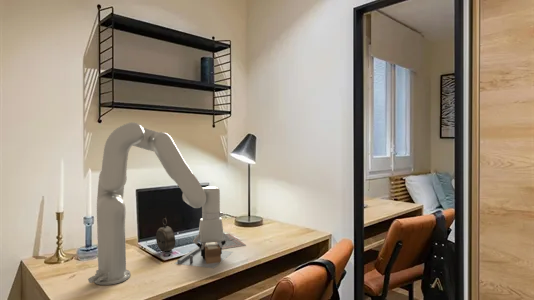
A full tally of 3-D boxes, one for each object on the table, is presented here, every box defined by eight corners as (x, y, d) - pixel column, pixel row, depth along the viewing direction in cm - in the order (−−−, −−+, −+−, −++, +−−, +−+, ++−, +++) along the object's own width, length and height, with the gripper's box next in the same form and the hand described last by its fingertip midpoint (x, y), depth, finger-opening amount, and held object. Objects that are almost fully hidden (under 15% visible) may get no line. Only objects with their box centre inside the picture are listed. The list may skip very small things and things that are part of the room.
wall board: (214, 271, 133) (213, 260, 133) (174, 266, 138) (174, 256, 138) (233, 254, 152) (233, 245, 152) (197, 250, 158) (197, 241, 157)
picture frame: (199, 242, 173) (212, 254, 154) (199, 237, 173) (212, 249, 154) (229, 237, 181) (245, 249, 162) (229, 233, 181) (245, 244, 161)
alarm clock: (176, 254, 153) (175, 219, 152) (165, 257, 149) (164, 221, 148) (164, 248, 160) (164, 215, 160) (153, 251, 157) (153, 217, 156)
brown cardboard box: (220, 262, 140) (220, 248, 140) (206, 263, 138) (206, 250, 138) (215, 252, 151) (215, 240, 151) (202, 254, 149) (202, 241, 149)
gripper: (228, 212, 150) (229, 251, 151) (189, 215, 145) (190, 256, 145) (232, 215, 143) (232, 257, 144) (191, 219, 138) (191, 262, 138)
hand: (211, 256), depth 145 cm, fingers closed on brown cardboard box, 6 cm apart
